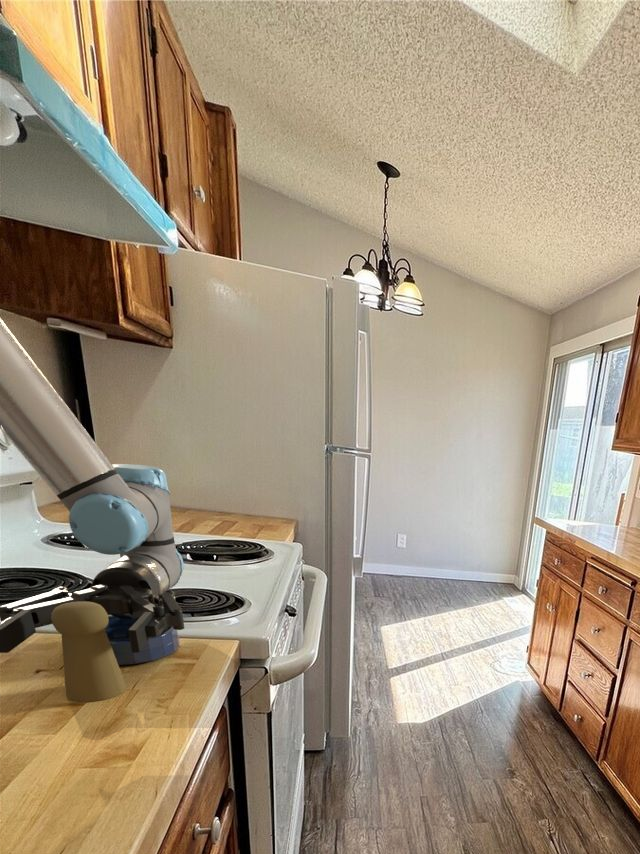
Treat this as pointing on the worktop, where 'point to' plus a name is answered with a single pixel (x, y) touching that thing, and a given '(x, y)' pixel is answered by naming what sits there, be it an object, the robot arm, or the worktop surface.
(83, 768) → the worktop surface
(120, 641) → the bowl
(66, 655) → the cork
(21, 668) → the worktop surface
